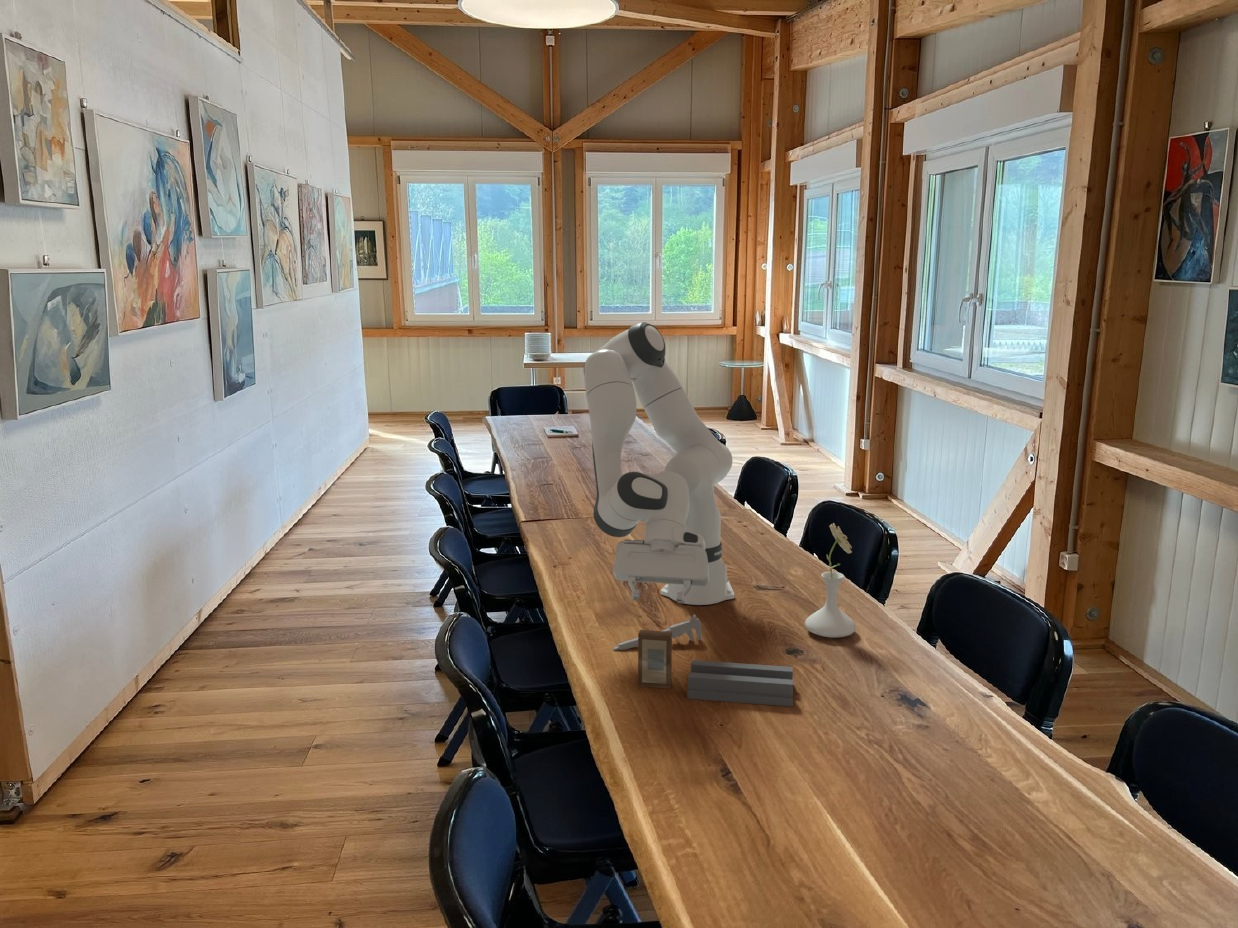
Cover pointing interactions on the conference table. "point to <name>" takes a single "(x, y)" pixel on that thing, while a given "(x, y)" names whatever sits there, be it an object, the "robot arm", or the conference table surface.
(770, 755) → the conference table surface
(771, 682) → the picture ledge
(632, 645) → the caliper
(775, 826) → the conference table surface
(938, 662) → the conference table surface
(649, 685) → the wooden picture frame
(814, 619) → the flower in vase
